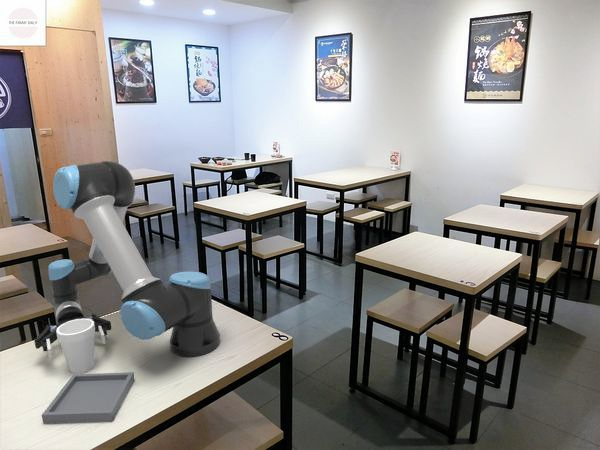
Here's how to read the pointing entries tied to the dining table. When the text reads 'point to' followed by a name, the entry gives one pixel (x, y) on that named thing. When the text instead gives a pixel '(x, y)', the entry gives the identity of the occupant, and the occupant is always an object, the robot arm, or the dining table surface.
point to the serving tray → (89, 398)
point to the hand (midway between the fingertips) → (77, 346)
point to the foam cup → (77, 344)
